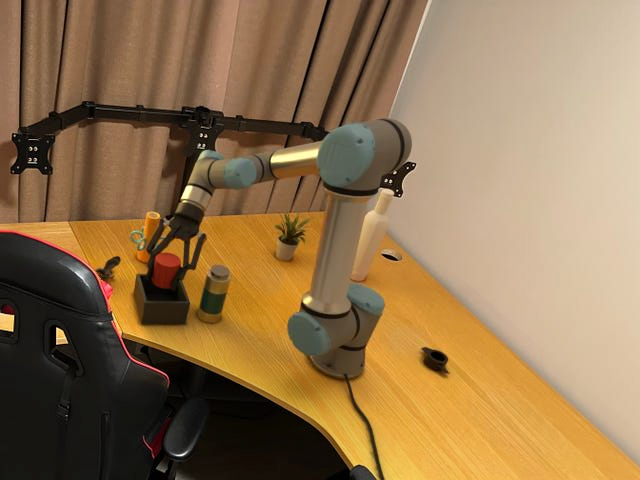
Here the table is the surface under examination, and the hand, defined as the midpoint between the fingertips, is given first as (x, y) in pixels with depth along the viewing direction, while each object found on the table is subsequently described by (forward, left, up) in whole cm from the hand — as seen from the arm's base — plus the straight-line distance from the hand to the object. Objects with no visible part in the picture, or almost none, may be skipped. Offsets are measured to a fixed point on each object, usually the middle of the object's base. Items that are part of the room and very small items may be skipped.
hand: (159, 285), depth 169 cm
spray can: (0, -16, -10) cm, 19 cm away
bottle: (+22, -72, -10) cm, 76 cm away
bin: (+3, -2, -10) cm, 11 cm away
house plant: (+32, -49, -10) cm, 59 cm away
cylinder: (+29, -3, -10) cm, 31 cm away
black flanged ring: (-22, -77, -10) cm, 81 cm away
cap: (+3, -2, -1) cm, 4 cm away
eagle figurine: (+18, +11, -10) cm, 23 cm away
